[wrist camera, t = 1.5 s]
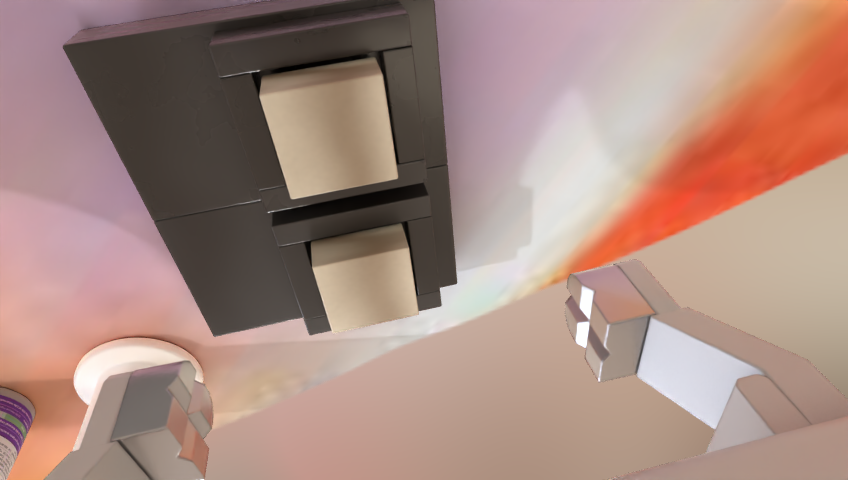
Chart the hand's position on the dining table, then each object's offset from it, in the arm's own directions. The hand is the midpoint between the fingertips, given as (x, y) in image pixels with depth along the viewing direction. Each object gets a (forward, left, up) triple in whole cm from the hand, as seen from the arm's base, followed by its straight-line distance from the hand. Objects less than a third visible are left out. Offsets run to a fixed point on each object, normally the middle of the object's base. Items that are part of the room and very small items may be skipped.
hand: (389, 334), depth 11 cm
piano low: (-3, -8, -16) cm, 18 cm away
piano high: (-3, 0, -16) cm, 16 cm away
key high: (-1, 0, -13) cm, 13 cm away
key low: (-1, -8, -13) cm, 15 cm away
